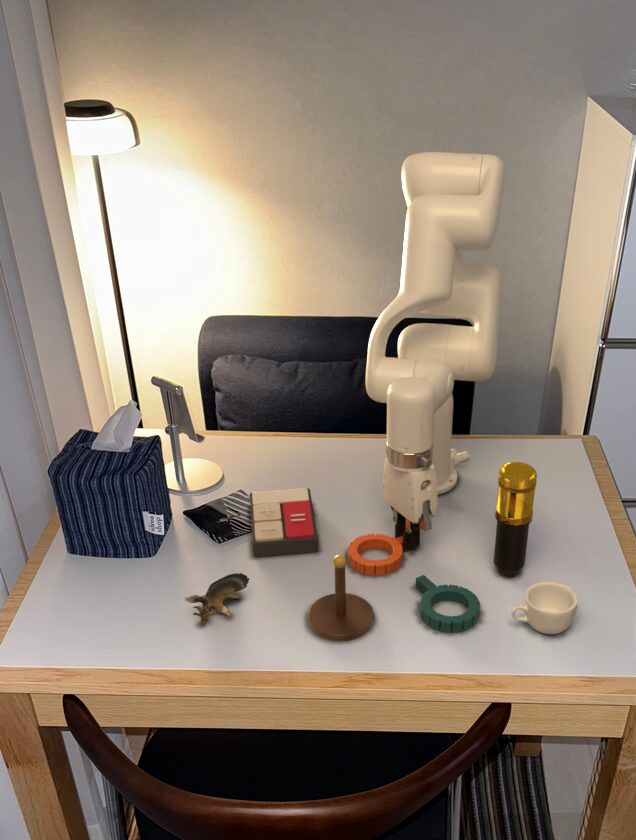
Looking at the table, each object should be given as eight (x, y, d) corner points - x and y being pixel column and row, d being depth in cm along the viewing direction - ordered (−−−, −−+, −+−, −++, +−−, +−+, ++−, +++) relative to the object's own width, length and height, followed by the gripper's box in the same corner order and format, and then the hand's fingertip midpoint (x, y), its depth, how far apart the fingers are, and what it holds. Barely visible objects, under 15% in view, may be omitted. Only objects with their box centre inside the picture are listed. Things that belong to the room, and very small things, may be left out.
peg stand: (351, 590, 147) (350, 529, 140) (385, 625, 140) (386, 562, 133) (297, 613, 142) (293, 550, 136) (330, 650, 135) (328, 585, 129)
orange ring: (367, 582, 149) (367, 572, 148) (338, 554, 155) (337, 544, 154) (429, 557, 154) (429, 547, 153) (398, 530, 161) (398, 521, 160)
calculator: (252, 540, 152) (249, 488, 165) (254, 560, 155) (250, 507, 167) (317, 535, 154) (309, 484, 166) (318, 554, 156) (310, 503, 168)
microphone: (571, 570, 151) (586, 467, 140) (499, 586, 148) (509, 482, 137) (554, 550, 156) (568, 449, 145) (484, 565, 152) (493, 463, 142)
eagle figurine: (231, 631, 137) (260, 588, 143) (202, 598, 134) (232, 556, 140) (201, 636, 142) (230, 595, 148) (172, 604, 140) (203, 564, 145)
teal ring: (491, 618, 141) (492, 608, 140) (443, 640, 137) (444, 630, 136) (442, 576, 150) (442, 566, 149) (396, 595, 146) (396, 586, 145)
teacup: (562, 605, 143) (566, 578, 141) (581, 637, 137) (586, 610, 134) (501, 613, 142) (504, 586, 139) (518, 646, 135) (521, 619, 133)
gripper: (457, 466, 143) (452, 560, 153) (400, 426, 154) (399, 516, 164) (419, 480, 140) (416, 575, 149) (363, 438, 151) (364, 529, 161)
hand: (407, 543), depth 157 cm, fingers closed on orange ring, 1 cm apart
